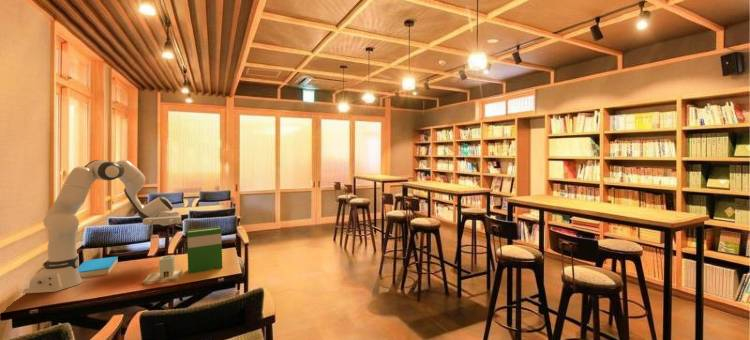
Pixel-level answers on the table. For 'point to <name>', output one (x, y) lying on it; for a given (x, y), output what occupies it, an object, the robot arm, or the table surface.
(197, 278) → the table surface
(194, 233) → the hardback book
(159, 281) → the post board
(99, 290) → the table surface
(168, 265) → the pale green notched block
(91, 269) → the book
